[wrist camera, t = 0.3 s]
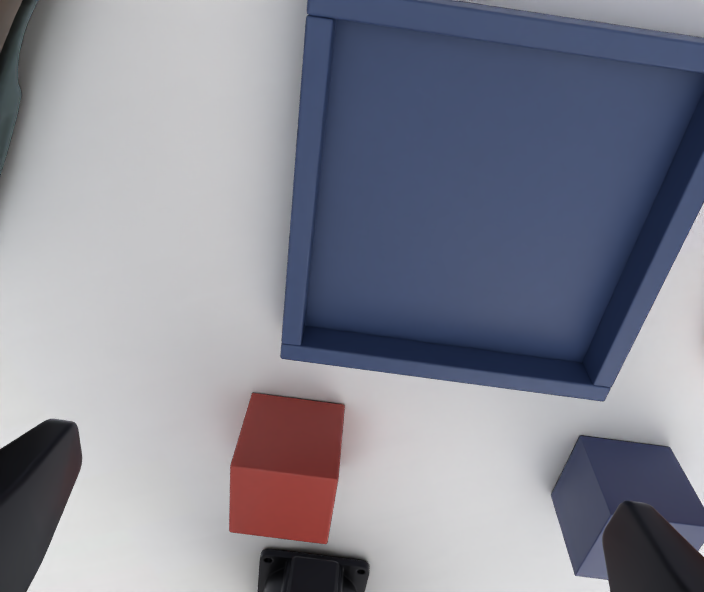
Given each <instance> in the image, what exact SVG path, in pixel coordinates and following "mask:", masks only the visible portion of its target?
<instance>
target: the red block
mask: <svg viewBox="0 0 704 592" xmlns="http://www.w3.org/2000/svg"><path fill="white" fill-rule="evenodd" d="M344 410H345V406H344V405H342V404H334V403H327V402H319V401H311V400H304V399H296V398H289V397H281V396H273V395H266V394H258V393H252V395H251V398H250V401H249V405H248V408H247V411H246V415H245V418H244V421H243V425H242V428H241V432H240V435H239V438H238V442H237V445H236V448H235V452H234V455H233V458H232V462H231V465H230V513H229V531H230V532H232V533H240V534H248V535H256V536H264V537H272V538H280V539H288V540H296V541H304V542H312V543H320V544H327V542H328V537H329V531H330V525H331V519H332V513H333V508H334V502H335V496H336V490H337V484H338V478H339V466H340V455H341V444H342V433H343V421H344Z"/></svg>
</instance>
